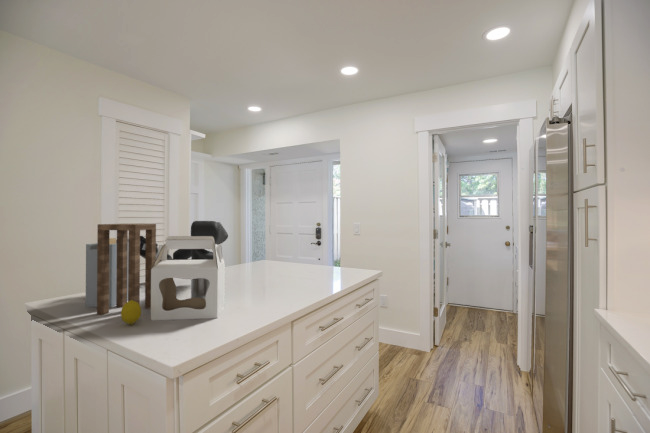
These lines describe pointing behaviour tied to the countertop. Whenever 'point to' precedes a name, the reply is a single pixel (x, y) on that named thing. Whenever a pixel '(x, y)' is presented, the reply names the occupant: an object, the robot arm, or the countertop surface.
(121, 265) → the walnut stand
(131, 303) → the lemon
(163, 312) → the gable box
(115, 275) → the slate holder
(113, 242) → the bar
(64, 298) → the countertop surface
